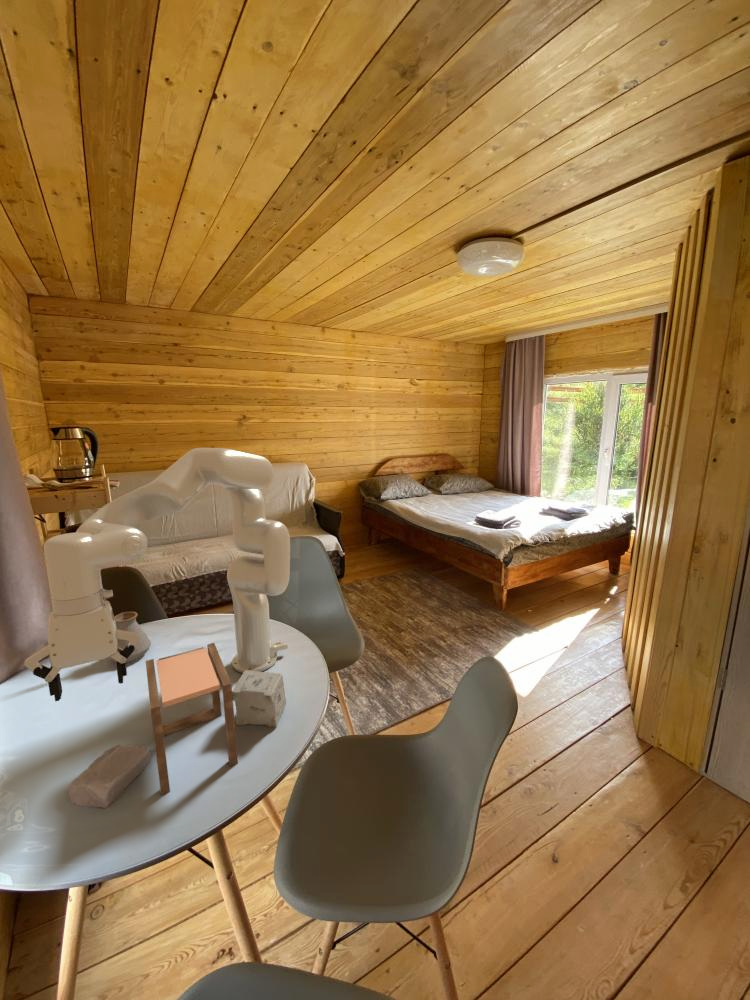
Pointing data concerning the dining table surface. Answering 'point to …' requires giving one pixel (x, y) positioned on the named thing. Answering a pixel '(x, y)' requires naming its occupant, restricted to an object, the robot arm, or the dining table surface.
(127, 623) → the coffee pot
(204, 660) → the trapdoor
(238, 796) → the dining table surface
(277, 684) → the white speckled block
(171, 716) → the dining table surface
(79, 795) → the stone block
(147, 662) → the stand
